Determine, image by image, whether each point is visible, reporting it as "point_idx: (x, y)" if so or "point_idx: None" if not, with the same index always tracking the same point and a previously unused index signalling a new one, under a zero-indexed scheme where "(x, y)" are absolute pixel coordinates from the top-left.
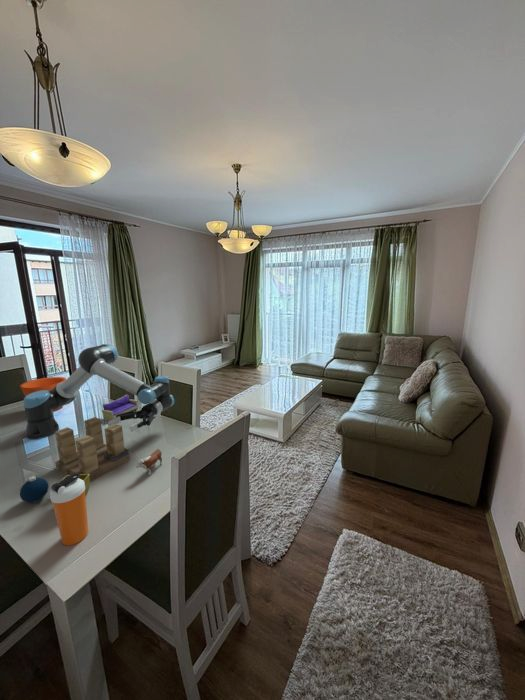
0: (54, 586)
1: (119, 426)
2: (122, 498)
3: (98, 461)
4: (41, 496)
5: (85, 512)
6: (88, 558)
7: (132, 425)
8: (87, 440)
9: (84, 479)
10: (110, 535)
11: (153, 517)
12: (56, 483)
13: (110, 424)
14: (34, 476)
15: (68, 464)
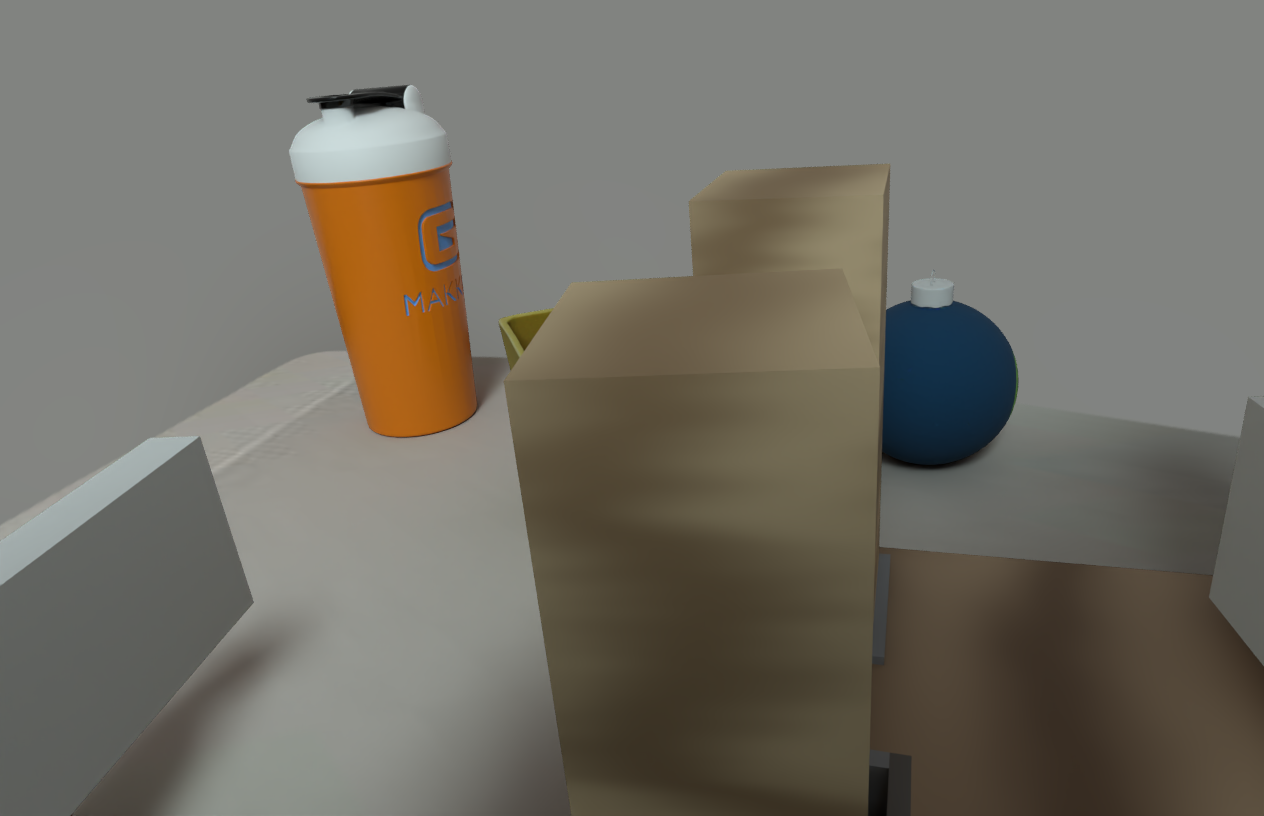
0: None
1: (535, 350)
2: (275, 575)
3: (886, 731)
4: None
5: (336, 309)
6: (298, 394)
7: (135, 467)
8: (728, 184)
9: (518, 347)
10: (245, 444)
11: (3, 534)
12: (397, 87)
13: (1249, 534)
14: (936, 288)
15: (1205, 606)
